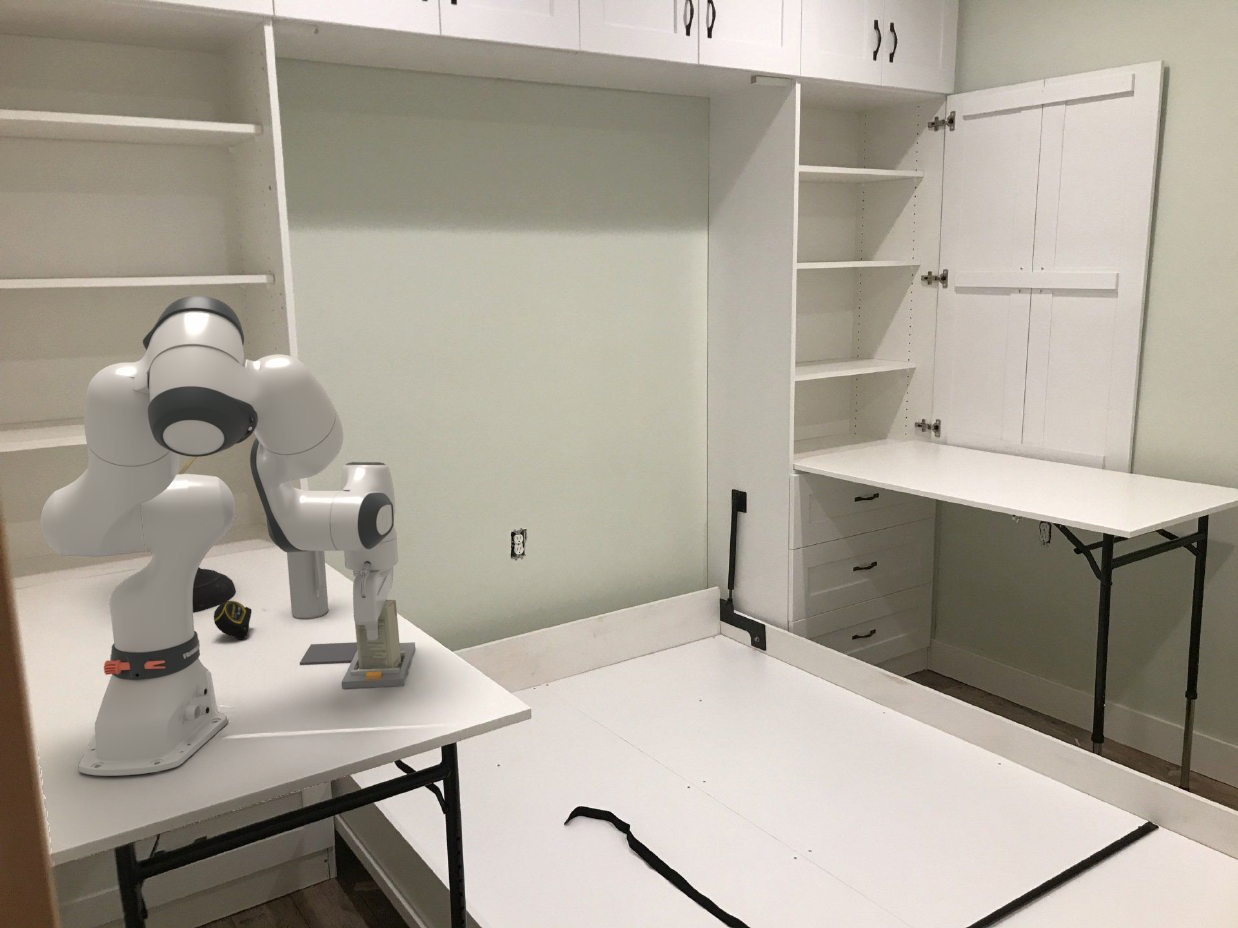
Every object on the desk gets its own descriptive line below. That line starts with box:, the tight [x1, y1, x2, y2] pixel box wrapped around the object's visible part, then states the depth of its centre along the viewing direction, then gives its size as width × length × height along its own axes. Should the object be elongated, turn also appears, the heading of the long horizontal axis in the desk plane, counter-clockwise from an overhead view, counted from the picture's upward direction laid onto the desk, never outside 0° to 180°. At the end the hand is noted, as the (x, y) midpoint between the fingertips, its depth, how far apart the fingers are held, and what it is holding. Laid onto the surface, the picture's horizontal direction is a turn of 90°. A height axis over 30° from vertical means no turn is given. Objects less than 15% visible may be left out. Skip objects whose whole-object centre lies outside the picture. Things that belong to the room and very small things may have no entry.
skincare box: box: [354, 599, 402, 670], centre depth 169 cm, size 6×4×12 cm
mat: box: [299, 641, 357, 666], centre depth 178 cm, size 9×9×1 cm
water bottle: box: [286, 551, 329, 620], centre depth 196 cm, size 9×8×25 cm
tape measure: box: [213, 600, 253, 640], centre depth 187 cm, size 7×7×4 cm
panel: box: [341, 641, 416, 690], centre depth 171 cm, size 17×10×2 cm, turn 5°
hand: (375, 632), depth 169 cm, fingers closed on skincare box, 5 cm apart
